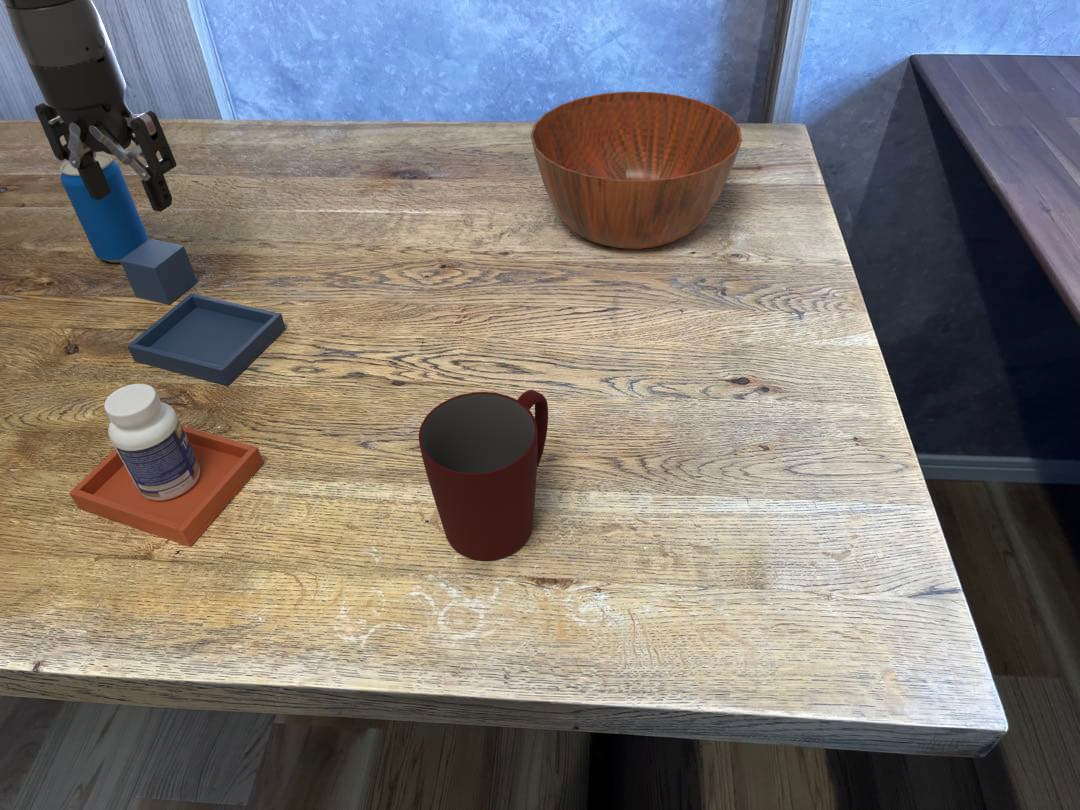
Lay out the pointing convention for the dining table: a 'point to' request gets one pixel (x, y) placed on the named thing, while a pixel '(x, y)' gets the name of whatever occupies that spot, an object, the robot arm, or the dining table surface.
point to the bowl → (635, 165)
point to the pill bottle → (151, 442)
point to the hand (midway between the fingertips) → (132, 202)
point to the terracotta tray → (180, 516)
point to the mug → (485, 469)
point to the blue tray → (207, 338)
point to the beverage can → (106, 211)
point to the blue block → (159, 271)
